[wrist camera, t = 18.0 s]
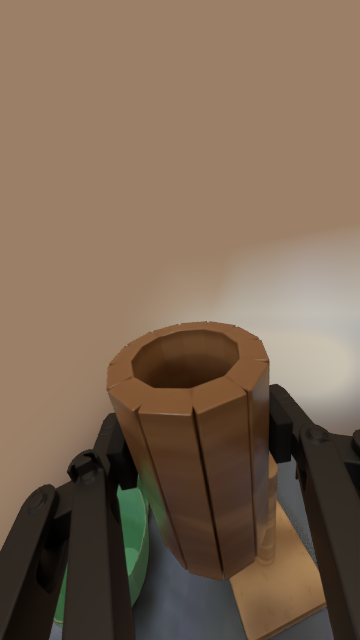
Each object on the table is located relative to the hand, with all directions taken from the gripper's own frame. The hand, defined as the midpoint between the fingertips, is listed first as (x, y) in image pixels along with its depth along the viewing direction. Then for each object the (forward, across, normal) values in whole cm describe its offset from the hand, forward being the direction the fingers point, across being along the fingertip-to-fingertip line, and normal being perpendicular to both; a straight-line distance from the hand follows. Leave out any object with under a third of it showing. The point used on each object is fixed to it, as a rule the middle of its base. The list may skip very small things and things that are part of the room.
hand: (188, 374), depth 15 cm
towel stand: (-2, +5, -25) cm, 26 cm away
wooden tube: (-5, 0, -6) cm, 8 cm away
